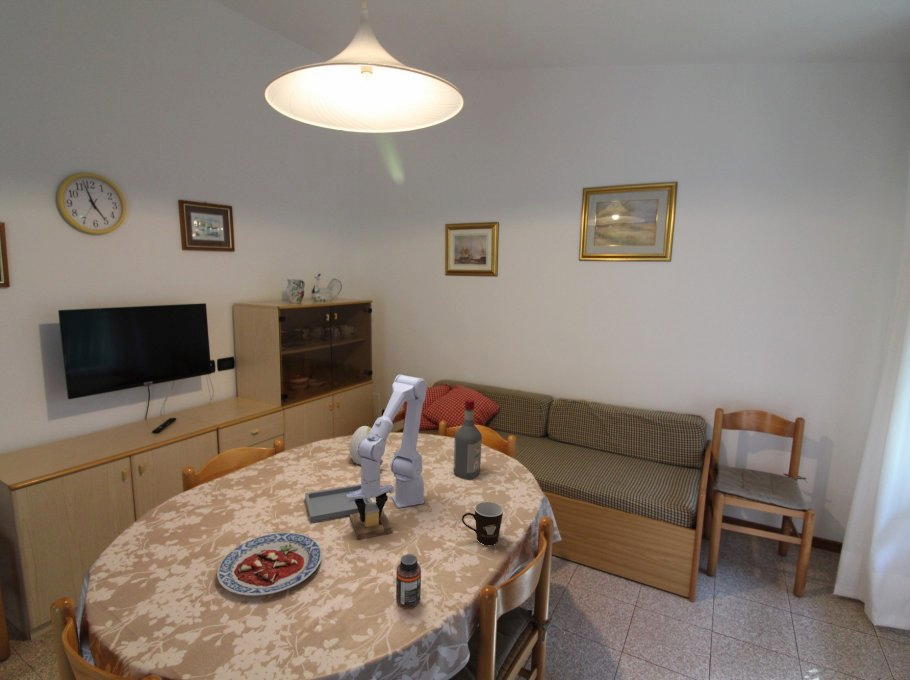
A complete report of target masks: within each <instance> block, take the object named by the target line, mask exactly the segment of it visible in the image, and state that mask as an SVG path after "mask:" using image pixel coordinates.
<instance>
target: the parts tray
mask: <svg viewBox="0 0 910 680" xmlns="http://www.w3.org/2000/svg"><path fill="white" fill-rule="evenodd" d="M360 489H361V483H360V484H355V485H349V486H342V487H333V488H328V489H323V490H315V491H311V492H310V491H309V492H305V493H304V500H305V505H306V509H307V513H308V518H309V521H310V524H315V523H319V522H326V521H330V520H336V519H340V518H346V517H350V514H355V513H359V511H358V508H357V505H356V503H355V501H352V502H351V503H348V502H347V494H350V493H353V492H355V491H357V490H360ZM363 500H364V502H365V503H371V502H373V501H372V498H364V499H363Z"/></svg>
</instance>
